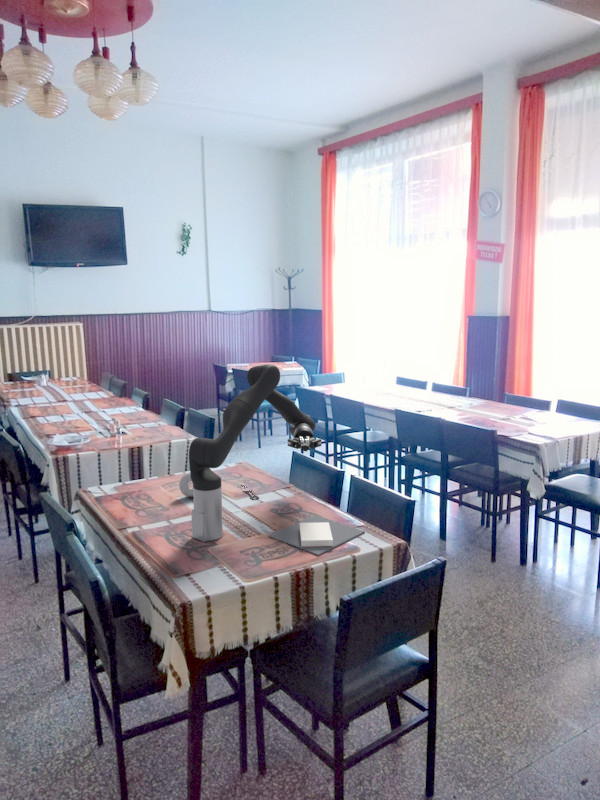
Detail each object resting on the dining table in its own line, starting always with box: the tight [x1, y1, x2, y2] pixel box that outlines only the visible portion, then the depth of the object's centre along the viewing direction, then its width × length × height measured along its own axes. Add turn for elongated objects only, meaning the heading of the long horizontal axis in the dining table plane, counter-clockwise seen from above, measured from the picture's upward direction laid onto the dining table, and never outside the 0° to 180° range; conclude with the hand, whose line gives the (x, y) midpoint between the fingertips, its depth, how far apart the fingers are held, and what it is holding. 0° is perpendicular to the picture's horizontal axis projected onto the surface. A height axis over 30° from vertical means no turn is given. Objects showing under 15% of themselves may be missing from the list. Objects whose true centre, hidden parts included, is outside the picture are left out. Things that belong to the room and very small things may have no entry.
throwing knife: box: [242, 485, 260, 501], centre depth 245 cm, size 4×20×1 cm, turn 23°
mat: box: [267, 514, 366, 557], centre depth 203 cm, size 24×22×1 cm
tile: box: [299, 522, 333, 547], centre depth 199 cm, size 2×10×14 cm
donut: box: [178, 471, 193, 498], centre depth 239 cm, size 10×4×10 cm, turn 119°
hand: (305, 448), depth 212 cm, fingers closed
